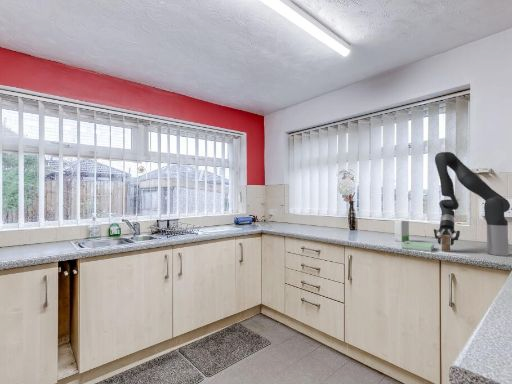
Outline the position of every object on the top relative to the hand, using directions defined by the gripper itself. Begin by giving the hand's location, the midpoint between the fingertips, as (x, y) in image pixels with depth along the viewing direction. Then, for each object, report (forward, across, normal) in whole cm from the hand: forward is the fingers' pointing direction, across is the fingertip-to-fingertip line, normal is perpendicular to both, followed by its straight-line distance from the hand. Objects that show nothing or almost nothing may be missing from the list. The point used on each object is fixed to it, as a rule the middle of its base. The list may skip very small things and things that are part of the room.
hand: (445, 244), depth 166 cm
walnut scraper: (+2, 0, +5) cm, 5 cm away
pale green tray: (+2, -15, +4) cm, 16 cm away
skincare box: (-16, -30, +23) cm, 41 cm away
